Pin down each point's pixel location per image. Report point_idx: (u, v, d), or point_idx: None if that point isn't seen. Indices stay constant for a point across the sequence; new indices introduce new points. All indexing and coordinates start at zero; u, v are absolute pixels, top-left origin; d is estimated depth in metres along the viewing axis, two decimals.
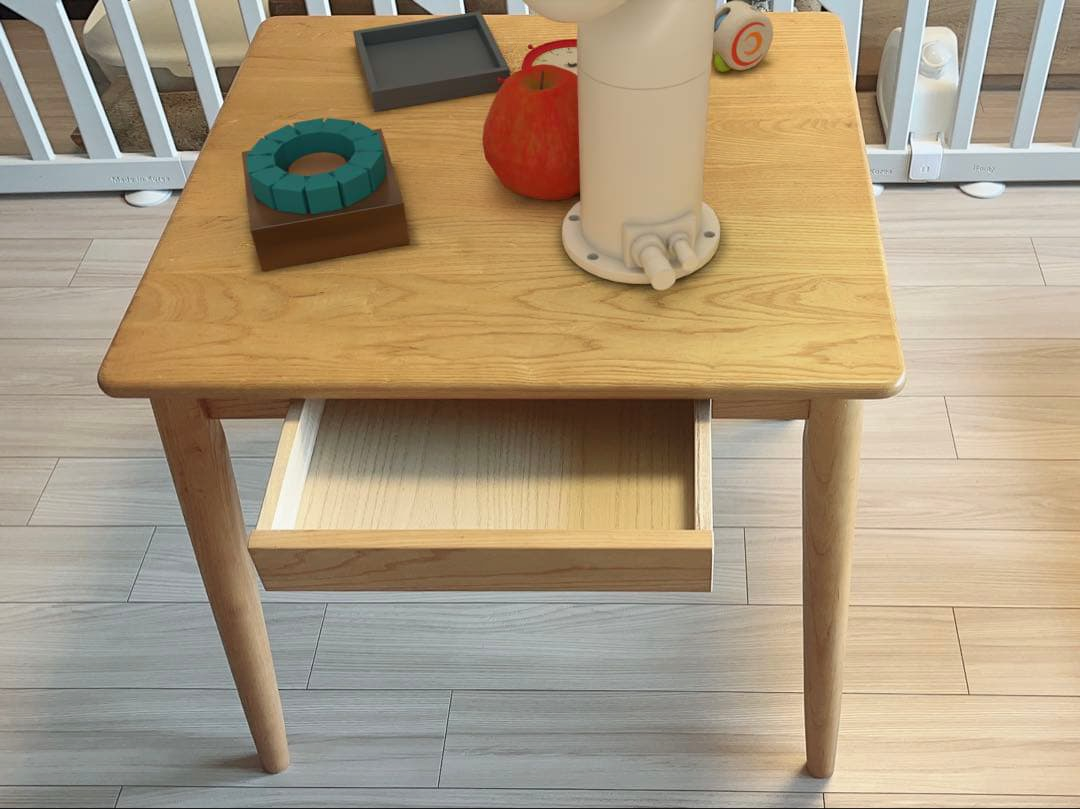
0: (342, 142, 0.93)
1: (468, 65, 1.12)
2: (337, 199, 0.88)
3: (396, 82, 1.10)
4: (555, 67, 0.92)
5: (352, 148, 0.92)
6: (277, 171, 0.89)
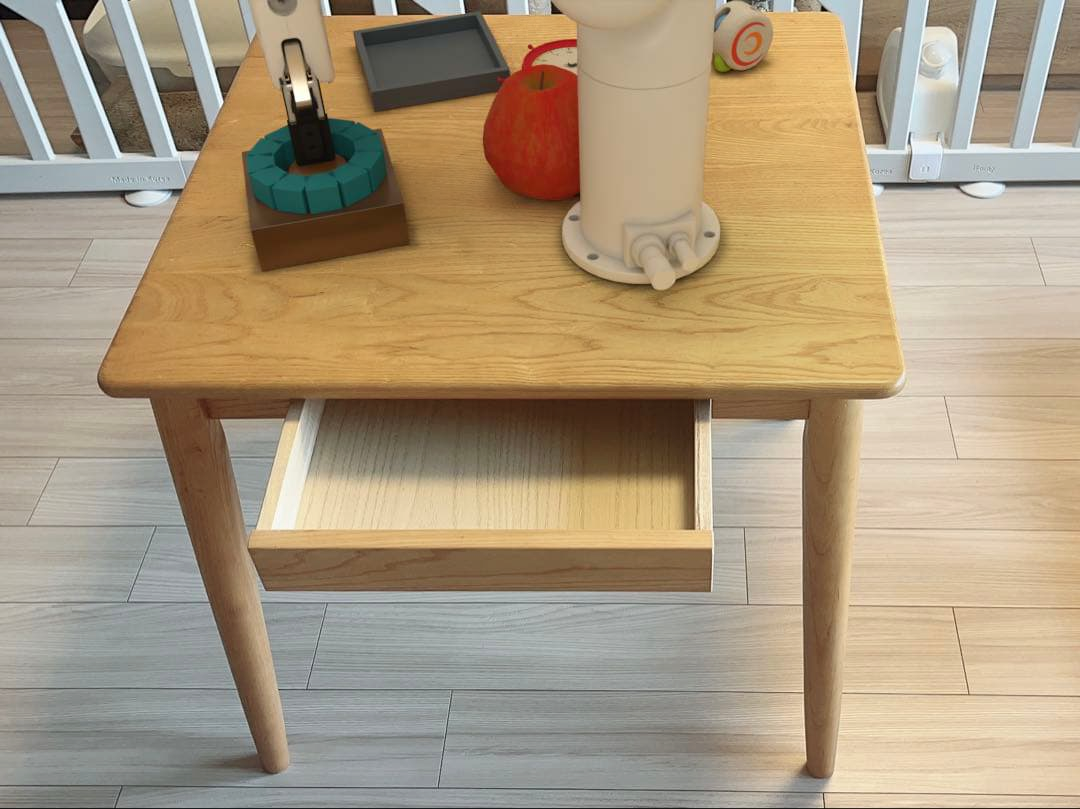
0: (342, 142, 0.93)
1: (468, 65, 1.12)
2: (337, 199, 0.88)
3: (396, 82, 1.10)
4: (555, 67, 0.92)
5: (352, 148, 0.92)
6: (277, 171, 0.89)
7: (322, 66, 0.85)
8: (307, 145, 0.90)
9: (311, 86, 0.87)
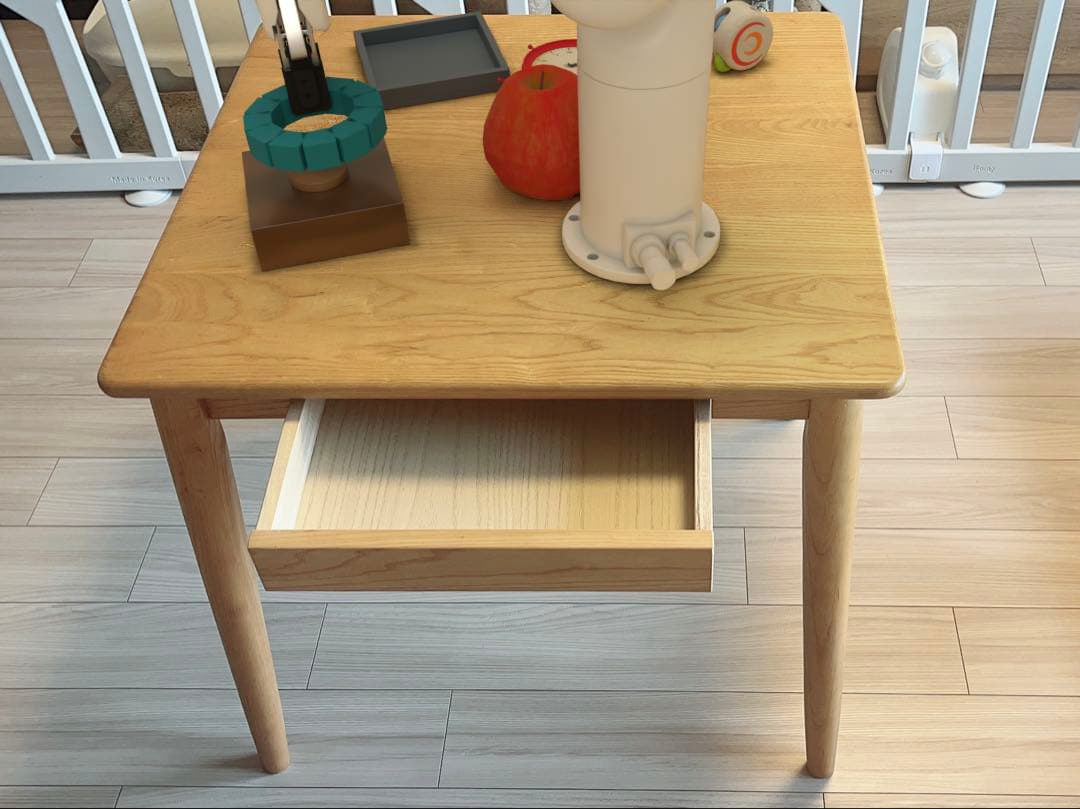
0: (341, 100, 0.90)
1: (468, 65, 1.12)
2: (335, 155, 0.85)
3: (396, 82, 1.10)
4: (555, 67, 0.92)
5: (352, 106, 0.90)
6: (274, 128, 0.86)
7: (316, 13, 0.82)
8: (302, 93, 0.89)
9: (306, 35, 0.85)
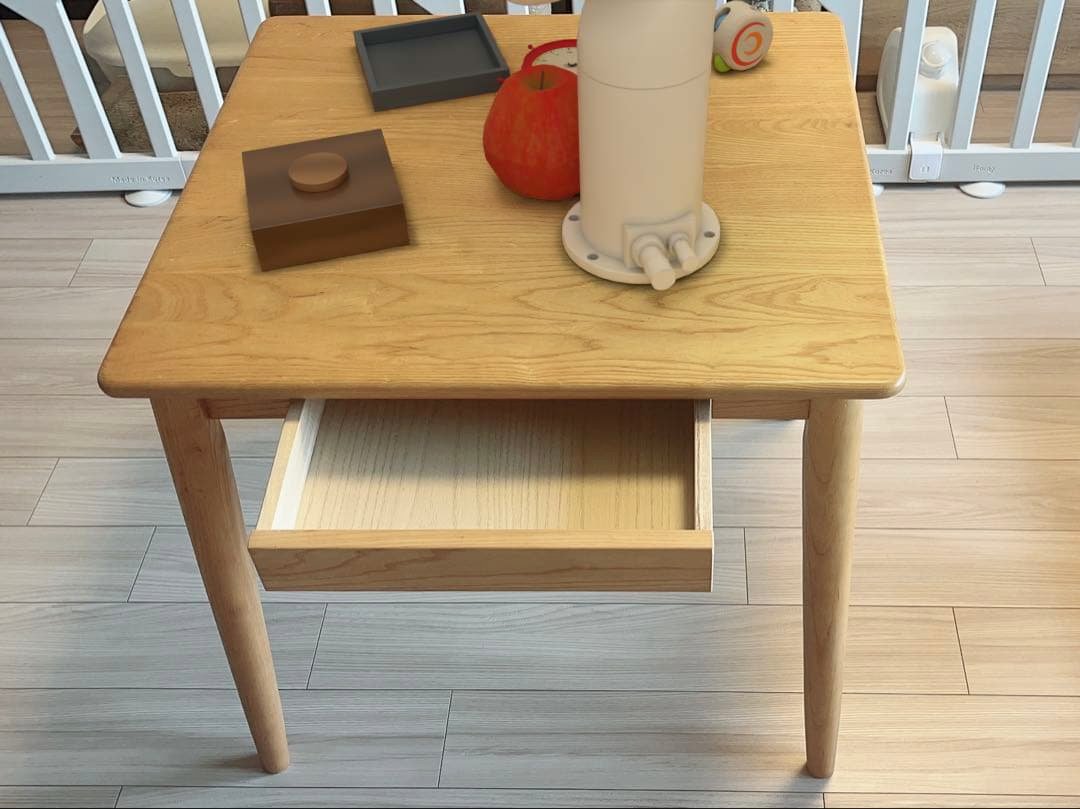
0: None
1: (468, 65, 1.12)
2: None
3: (396, 82, 1.10)
4: (555, 67, 0.92)
5: None
6: None
7: None
8: None
9: None
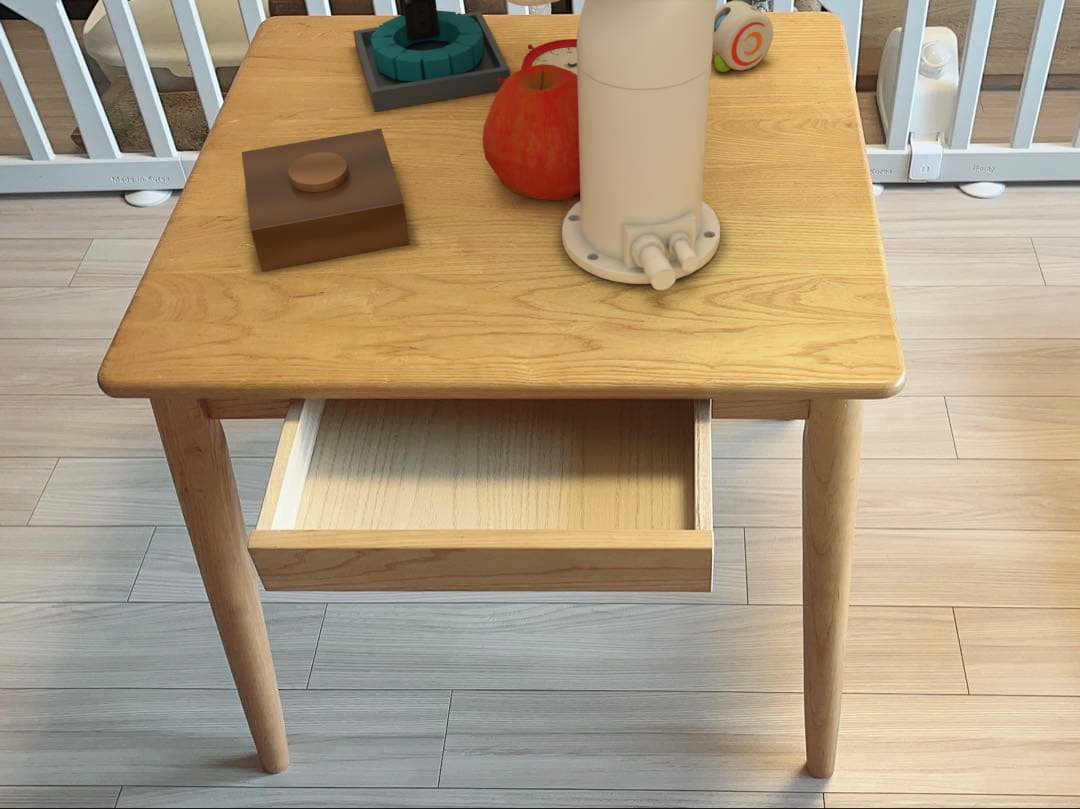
0: (446, 28, 1.13)
1: None
2: (448, 70, 1.08)
3: (396, 82, 1.10)
4: (555, 67, 0.92)
5: (455, 33, 1.13)
6: (398, 48, 1.09)
7: None
8: (418, 22, 1.11)
9: None
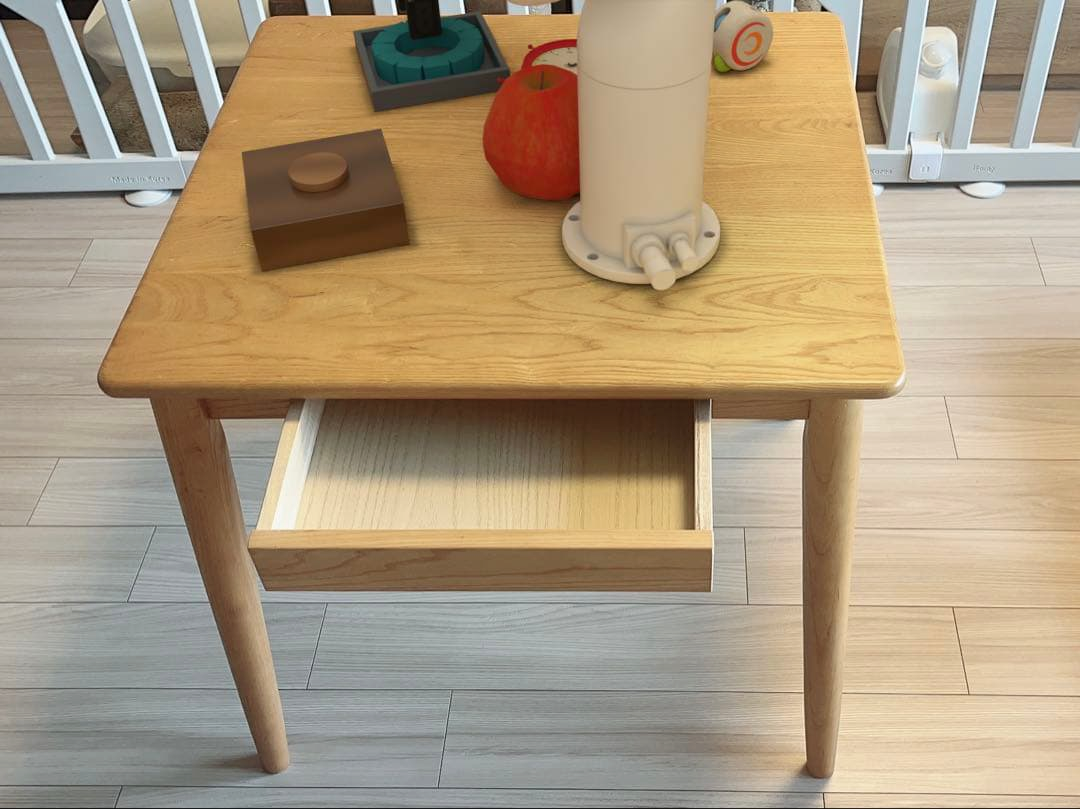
0: (447, 35, 1.14)
1: None
2: None
3: None
4: (555, 67, 0.92)
5: (456, 39, 1.13)
6: (398, 54, 1.10)
7: None
8: (421, 21, 1.09)
9: None
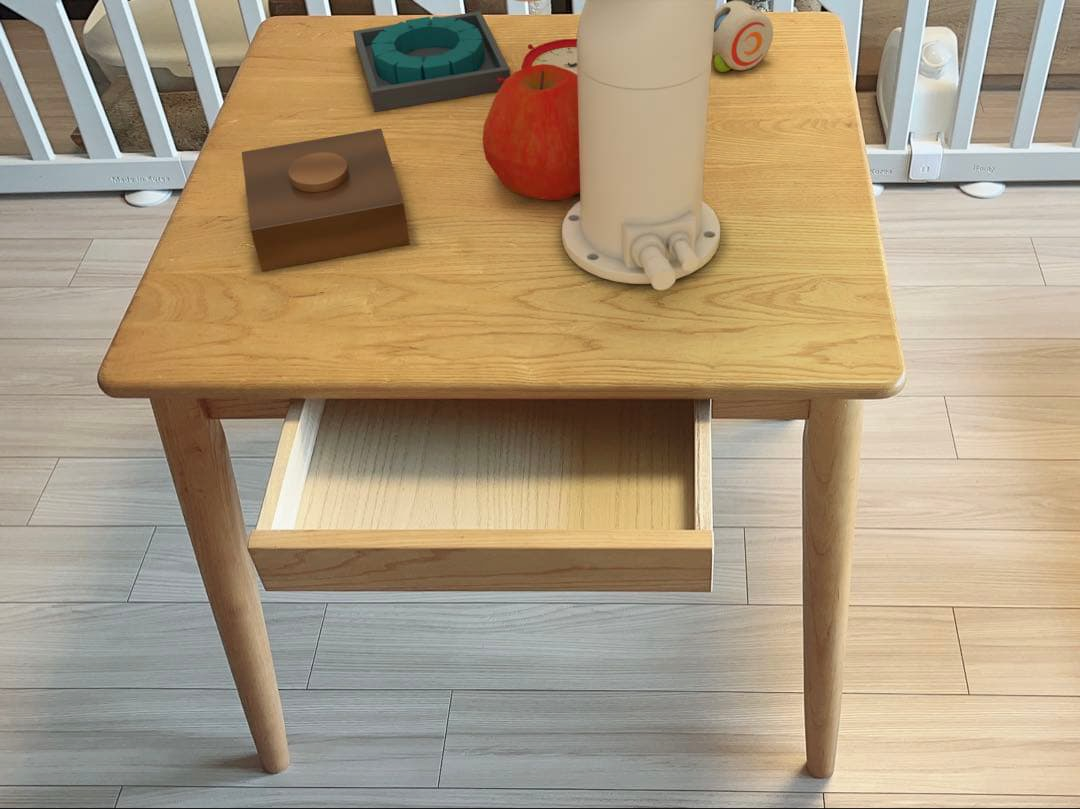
0: (447, 35, 1.14)
1: None
2: None
3: None
4: (555, 67, 0.92)
5: (456, 39, 1.13)
6: (398, 54, 1.10)
7: None
8: None
9: None
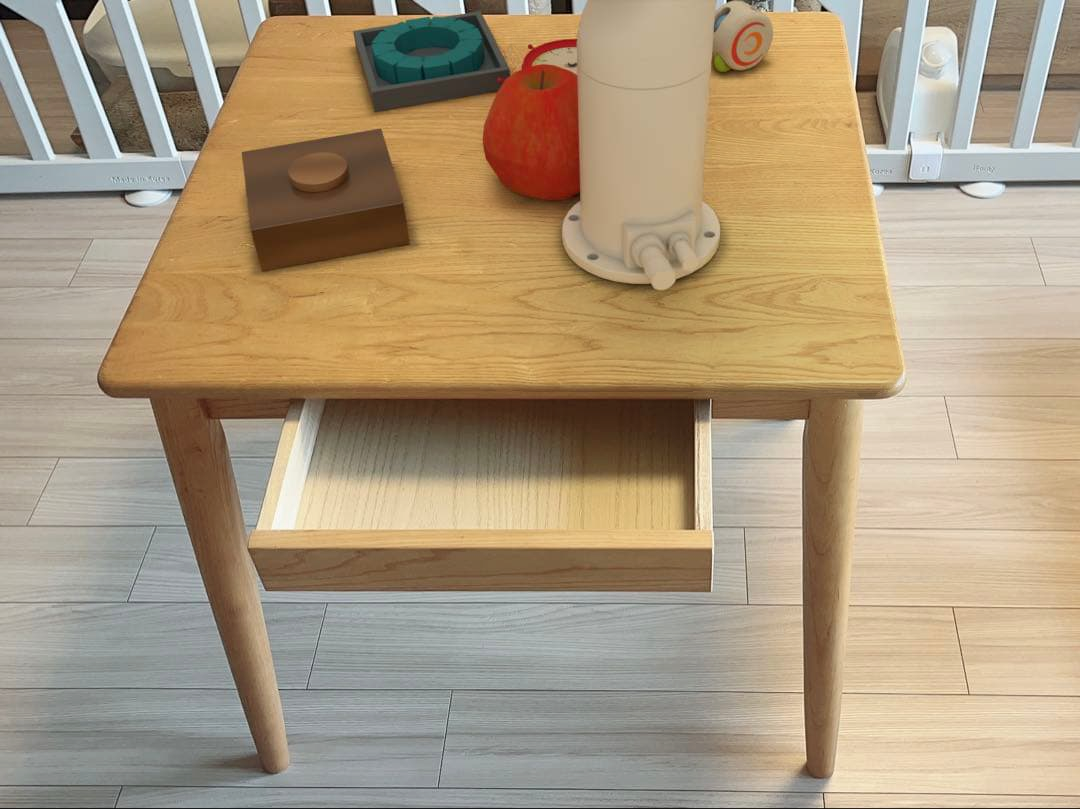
0: (447, 35, 1.14)
1: None
2: None
3: None
4: (555, 67, 0.92)
5: (456, 39, 1.13)
6: (398, 54, 1.10)
7: None
8: None
9: None
